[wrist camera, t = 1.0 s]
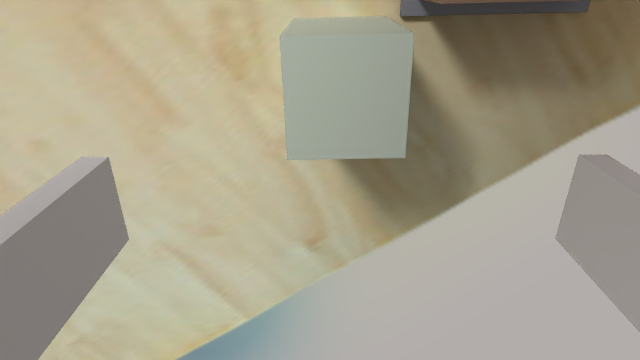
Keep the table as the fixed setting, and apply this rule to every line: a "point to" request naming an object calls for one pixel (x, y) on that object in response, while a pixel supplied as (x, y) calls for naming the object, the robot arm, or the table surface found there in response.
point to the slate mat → (489, 7)
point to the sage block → (346, 87)
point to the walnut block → (486, 1)
